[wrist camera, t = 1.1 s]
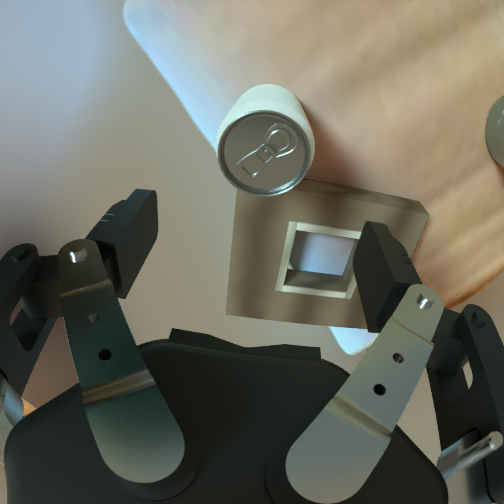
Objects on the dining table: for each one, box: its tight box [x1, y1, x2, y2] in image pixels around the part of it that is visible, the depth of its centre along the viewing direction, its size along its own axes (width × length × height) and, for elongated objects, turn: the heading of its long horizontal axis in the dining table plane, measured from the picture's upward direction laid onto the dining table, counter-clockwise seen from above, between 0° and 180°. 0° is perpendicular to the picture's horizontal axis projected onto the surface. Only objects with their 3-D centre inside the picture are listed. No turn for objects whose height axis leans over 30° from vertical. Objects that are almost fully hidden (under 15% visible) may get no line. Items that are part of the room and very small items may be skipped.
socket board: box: [226, 179, 429, 329], centre depth 36 cm, size 20×18×3 cm
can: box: [216, 84, 315, 197], centre depth 23 cm, size 6×6×12 cm
